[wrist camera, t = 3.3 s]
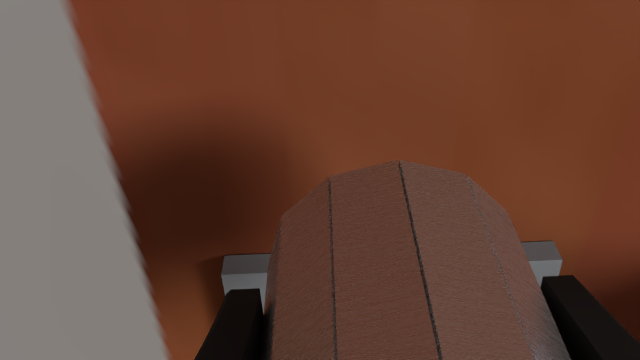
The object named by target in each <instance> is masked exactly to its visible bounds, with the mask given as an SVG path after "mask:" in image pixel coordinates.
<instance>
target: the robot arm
mask: <svg viewBox="0 0 640 360" xmlns="http://www.w3.org/2000/svg"><path fill="white" fill-rule="evenodd" d="M540 289H541V291H542V293H543V296H544V298H545V300H546V303H547V305H548V307H549V310H550V312H551V314H552V317H553V319H554V321H555V323H556V326H557V328H558V330H559V333H560V335H561V337H562V340H563V342H564V344H565V347H566V349H567V351H568V354H569V356H570V358H571V360H640V343H639V342H638V341H637V340H636V339H635V338H634V337H633V336H632V335H631V334H630V333H629V332H628V331H627V330H626V329H625V328H624V327H623V326H622V325H621V324H620V323H619V322H618V321H617V320H616V319H615V318H614V317H613V316H612V315H611V314H610V313H609V312H608V311H607V310H606V309H605V308H604V307H603V306H602V305H601V304H600V303H599V302H598V301H597V300H596V299H595V298H594V297H593V296H592V295H591V293H590V292H589V291H588V290H587V289H586V288H585V287H584V286H583V285H582V284H581V283H580V282H579V281H578V280H577V279H576V278H575V277H574V276H573V275H566V276H543V278H542V283H541V287H540ZM263 319H264V314H263V307H262V301H261V294H260V288H254V289H231V290H230V291H229V292H228V293H226V296H225V298H224V301H223V303H222V305H221V308H220V310H219V312H218V314H217V317H216V319H215V321H214V323H213V325H212V327H211V329H210V331H209V333H208V335H207V337H206V339H205V341H204V343H203V345H202V347H201V348H200V350H199V352H198V354H197V356H196V357H195V359H194V360H260V352H261V341H262V330H263Z"/></svg>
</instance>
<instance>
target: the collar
mask: <svg viewBox="0 0 640 360" xmlns="http://www.w3.org/2000/svg"><path fill="white" fill-rule="evenodd" d="M260 360H571V358H570V356H569V354H568V351H567V349H566V347H565V344H564V342H563V340H562V337H561V335H560V333H559V330H558V328H557V326H556V323H555V321H554V319H553V317H552V314H551V312H550V310H549V307H548V305H547V303H546V300H545V298H544V296H543V293H542V291H541V289H540V286H539V284H538V282H537V279H536V277H535V275H534V272H533V270H532V268H531V265H530V263H529V261H528V258H527V256H526V254H525V251H524V249H523V247H522V244H521V242H520V240H519V237H518V235H517V233H516V230H515V228H514V226H513V223H512V221H511V219H510V216H509V214H508V212H507V211H506V210H505V209H504V208H503V207H502V206H500V205H499V204H498V203H497V202H496V201H495V200H494V199H493V198H492V197H491V196H490V195H489V194H487V193H486V192H485V191H484V190H483V189H482V188H481V187H480V186H479V185H478V184H477V183H476V182H474V181H473V180H472V179H471V178H470V177H469V176H468V175H465V174H464V173H459V172H455V171H450V170H445V169H441V168H436V167H431V166H426V165H422V164H417V163H412V162H407V161H403V160H400V161H399V164H398V161H397V160H395V161H391V162H387V163H382V164H378V165H374V166H370V167H366V168H361V169H357V170H353V171H349V172H345V173H340V174H336V175H332V176H330V178H328V177H327V178H326V179H325V180H324V181H323V182H321V183H320V184H319V185H318V186H317V187H316V188H314V189H313V190H312V191H311V192H310V193H308V194H307V195H306V196H305V197H304V198H302V199H301V200H300V201H299V202H298V203H297V204H295V205H294V206H293V207H292V208H291V209H289V210H288V211H287V212H286V213H285V214H284V215H282V218H281V219H280V223H279V226H278V230H277V234H276V237H275V241H274V245H273V248H272V252H271V255H270V259H269V263H268V271H267V282H266V293H265V304H264V319H263V330H262V341H261V352H260Z"/></svg>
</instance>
